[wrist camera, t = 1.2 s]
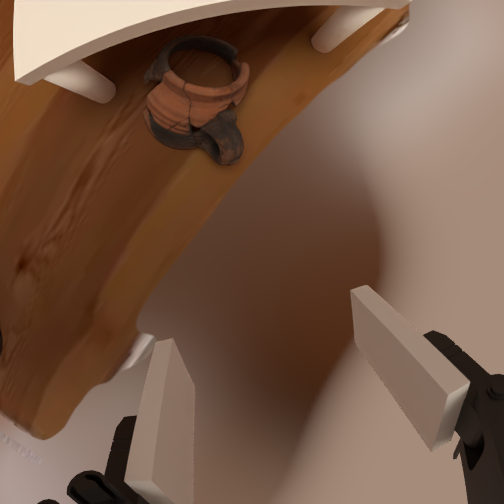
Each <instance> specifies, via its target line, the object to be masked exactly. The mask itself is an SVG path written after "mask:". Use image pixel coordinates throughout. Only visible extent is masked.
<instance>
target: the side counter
mask: <svg viewBox="0 0 504 504" xmlns="http://www.w3.org/2000/svg"><path fill="white" fill-rule="evenodd" d="M411 1H412V0H15V3H14V27H13V47H14V71H15V81H17V82H20V83H23V84H26V85H29V86H30V85H32V84H34V83H35V82H37V81H39V80H41V79H44V80H47V81H49V82H52V83H54V84H56V85H59V86H61V87H64V88H66V89H68V90H71V91H73V92H75V93H78V94H80V95H82V96H84V97H87V98H89V99H91V100H94V101H96V102H98V103H101V104H104V103H107V102H109V101H110V100H112V98H113V97H114V95H115V93H116V87H115V85H114V83H113V82H111V81H110V80H108V79H107V78H106V77H104V76H103V75H101V74H100V73H99V72H97V71H96V70H94V69H93V68H91V67H90V66H89V65H87V64H86V63H84V62H83V61H81V60H80V59H83V58H85V57H87V56H89V55H92V54H94V53H96V52H99V51H101V50H104V49H106V48H109V47H111V46H114V45H116V44H119V43H122V42H124V41H127V40H130V39H133V38H136V37H139V36H142V35H145V34H148V33H151V32H154V31H158V30H161V29H165V28H168V27H172V26H175V25H179V24H183V23H187V22H191V21H196V20H200V19H205V18H209V17H214V16H220V15H225V14H231V13H237V12H244V11H251V10H259V9H267V8H278V7H290V6H310V5H341V6H340V7H339V8H338V9H337V10H336V11H335V12H334V13H333V15H332V16H331V17H330V18H329V19H328V20H327V21H326V22H325V23H324V24H323V25H322V26H321V28H320V29H319V30H318V31H317V32H316V33H315V34H314V35H313V36H312V38H311V44H312V46H313V48H314V49H315V50H317V51H318V52H321V53H328V52H330V51H331V50H333V49H334V48H335V47H336V46H337V45H339V44H340V43H341V42H342V41H344V40H345V39H346V38H347V37H349V36H350V35H351V34H352V33H354V32H355V31H356V30H358V29H359V28H360V27H361V26H363V25H364V24H365V23H367V22H368V21H369V20H371V19H372V18H373V17H375V16H376V15H377V14H379V13H380V12H381V11H383V10H384V9H386V8H392V9H401V8H402V7H404V6H405V5H407V4H408V3H410V2H411Z"/></svg>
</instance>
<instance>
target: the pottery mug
mask: <svg viewBox="0 0 504 504" xmlns="http://www.w3.org/2000/svg"><path fill="white" fill-rule="evenodd" d="M188 49H196V50H201V51H207V52H211V53H214V54H217V55H218V56H220V57H222V58H223V59H224V60H225V61H227V62H228V63H229V64H230V65H231V66H232V76H233V78H234V80H235V81H234V82H233V83H231V84H229V85H228V86H223V87H202V86H197V85H194V84H191V83H188V82H186V81H184V80H183V79H181V78H180V77H178V76H177V75H176V74H175V73H174V72H173V71H172V70H171V69H170V66H169V63H168V60H169V57H170V55H171V54H172V53H174V52H176V51H181V50H188ZM237 54H238V49H237V48H236V47H234V46H233V45H231V44H230V43H228V42H226V41H224V40H221V39H219V38H216V37H211V36H203V35H187V36H182V37H178V38H176V39H174V40H172V41H170V42H169V43H168V44H166V46H165V47H164V48H163V49H162V50H161V52H160V53H159V55H158V56H157V58H156V60H155V61H154V62H153V63H152V64H151V66H150V68H149V69H148V70H147V71H146V72H145V76H144V84H147V83H148V82H149V81H150V80H157V81H161V83H160V84H158V85H157V86H156V87H155V88H154V89H153V90H152V91H151V92H150V93H149V94H148V95H147V103H146V105H147V107H148V109H149V110H150V112H149V110H148V109H144V111H143V113H144V119H145V121H146V123H147V126H148V128H149V130H150V132H151V133H152V134H153V136H154V137H155V138H156V139H157V140H158V141H160V142H161V143H163V144H164V145H167V146H169V147H172V148H175V149H194V148H195V147H197V146H199V147H200V148H203V149H204V150H206V151H207V152H208V153H209V154H210V156H211V157H212V158H213V160H214V161H215V162H216V163H218V164H220V165H233V164H235V163H237V162H238V161H239V159H240V156H241V155H242V153H243V149H244V144H243V139H242V136H241V133H240V131H239V129H238V128H237V126H236V120H237V118H236V113H235V112H234V111H233V110H232V109H227V110H226V108H227V107H228V105H229V104H230V103H232V104H233V105H234V106H237V105H238V104H239V103H240V101H241V100H242V98H243V96H244V95H245V92H246V89H247V85H248V79H249V75H250V69H249V65H248V63H243V62H242V63H239V62H238V60H236V58H235V57H236V55H237ZM191 125H192V126H194V127H196V128H200V130H198V131H196V132H192V128H191Z"/></svg>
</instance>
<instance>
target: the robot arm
mask: <svg viewBox="0 0 504 504" xmlns="http://www.w3.org/2000/svg"><path fill="white" fill-rule="evenodd" d="M350 292H351V302H352V311H353V322H354V335H355V344H356V346H357V347H358V348H359V350H360V351H361V352H362V354H363V355H364V357H365V358H366V359H367V361H368V362H369V364H370V365H371V366H372V368H373V369H374V371H375V372H376V373H377V375H378V376H379V377H380V379H381V380H382V382H383V383H384V385H385V386H386V387H387V389H388V390H389V391H390V393H391V394H392V396H393V397H394V399H395V400H396V402H397V403H398V405H399V406H400V407H401V409H402V410H403V412H404V413H405V414H406V416H407V418H408V419H409V420H410V422H411V423H412V425H413V426H414V428H415V429H416V431H417V432H418V434H419V435H420V436H421V438H422V439H423V441H424V442H425V444H426V445H427V447H428V448H429V450H430V451H431V452H432V451H434V450H435V449H437V448H439V447H440V446H442V445H444V444H446V443H448V442H449V441H451V439H452V436H453V433H454V431H456V432H457V433H458V435H459V436H460V437H461V438H460V440H459V442H458V445H457V447H456V449H455V451H454V454H453V459H456V458H457V456H458V454H459V452H460V456H461V461H462V466H463V472H464V478H465V485H466V491H467V499H468V504H504V375H502V374H495V375H490V374H489V373H487V372H486V371H485V370H484V369H483V368H482V367H481V366H480V365H479V364H478V363H476V362H475V361H474V360H473V359H472V358H471V357H470V356H469V355H468V354H467V353H465V352H464V351H462V349H461V348H460V347H459V346H458V345H455V343H454V342H453V341H452V340H451V339H450V338H448V337H447V336H446V335H444V334H441V333H439V332H436V331H434V330H433V331H430V332H428V333H426V334H424V335H422V334H421V333H420V332H418V331H417V330H416V329H415V328H414V327H413V326H412V325H411V324H410V323H409V322H408V321H407V320H406V319H404V318H403V317H402V316H401V315H400V314H399V313H398V312H397V311H396V310H395V309H393V308H392V307H391V306H390V305H389V304H388V303H387V302H386V301H385V300H384V299H382V298H381V297H380V296H379V295H378V294H377V293H376V292H374V291H373V290H372V289H371V288H370V287H369V286H368V285H364V286H361V287H358V288H355V289H352V290H350ZM1 349H2V339H1V333H0V354H1ZM194 410H195V386H194V384H193V382H192V380H191V377H190V375H189V373H188V371H187V369H186V367H185V364H184V362H183V360H182V358H181V356H180V353H179V351H178V349H177V346H176V344H175V342H174V339H173V338H171V339H167V340H162V341H157V342H155V346H154V349H153V353H152V357H151V361H150V365H149V369H148V372H147V376H146V381H145V385H144V389H143V393H142V397H141V401H140V406H139V410H138V414H137V416H128V417H124V418H123V419H122V421H121V422H120V424H119V425H118V426H117V428H116V431H115V435H114V439H113V440H114V442H112V446H111V451H110V454H109V458H108V462H107V467H106V471H105V475H102V474H101V473H100V472H96V471H93V470H91V471H84V472H82V473H80V474H77V475H76V476H75V477H74V478H73V479H72V480H71V481H70V483H69V485H68V487H67V495H68V496H69V497H71V498H72V499H73V500H74V501H75V502H77V503H78V504H193V503H194V502H193V501H194V500H193V457H194V455H193V454H194ZM38 504H59V503H58V502H57V501H55V500H51V499H47V500H43V501H41V502H39V503H38Z"/></svg>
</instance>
